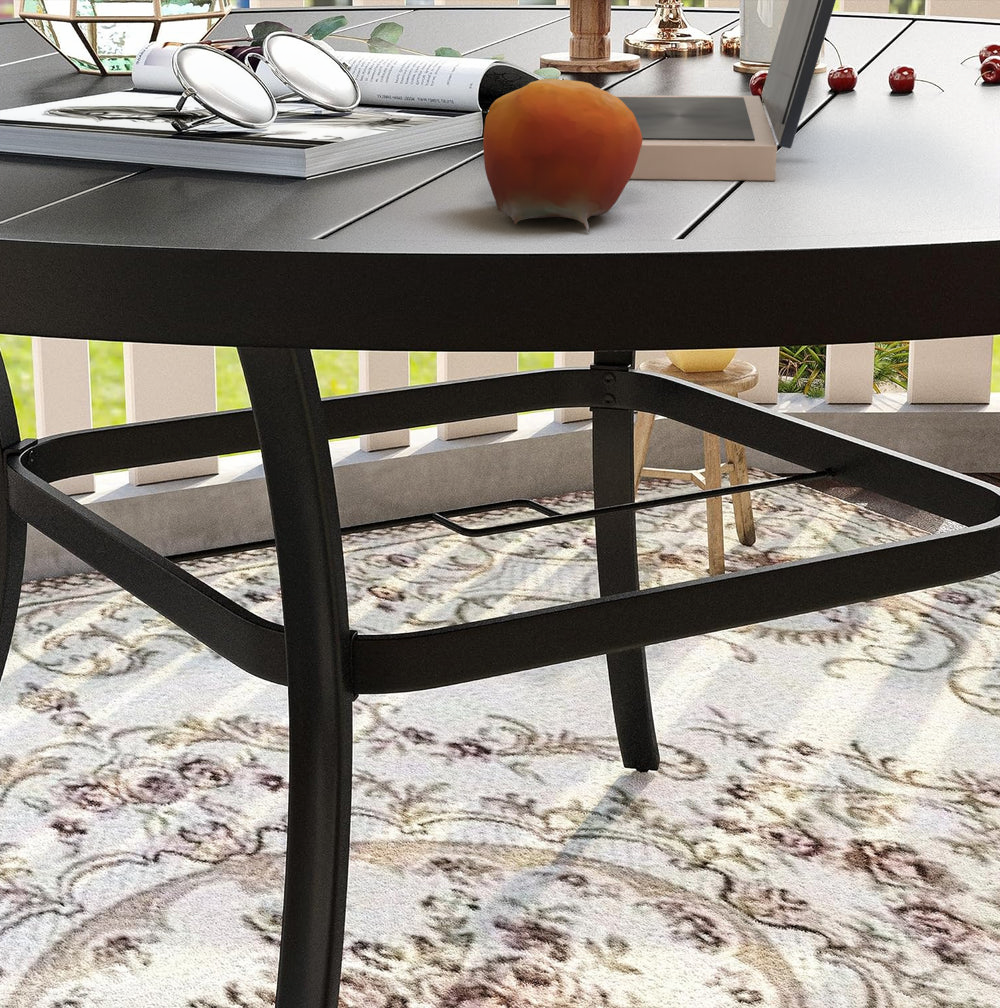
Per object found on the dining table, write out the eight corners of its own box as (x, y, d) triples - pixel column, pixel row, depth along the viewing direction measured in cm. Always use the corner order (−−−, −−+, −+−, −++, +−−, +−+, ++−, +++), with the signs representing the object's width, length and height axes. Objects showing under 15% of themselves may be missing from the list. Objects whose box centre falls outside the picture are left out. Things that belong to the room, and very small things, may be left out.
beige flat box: (517, 178, 83) (517, 142, 82) (550, 123, 103) (550, 93, 102) (775, 181, 81) (777, 143, 80) (758, 124, 101) (759, 94, 100)
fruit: (462, 210, 67) (474, 52, 68) (487, 261, 75) (498, 118, 76) (631, 214, 66) (641, 53, 67) (638, 265, 74) (647, 120, 75)
